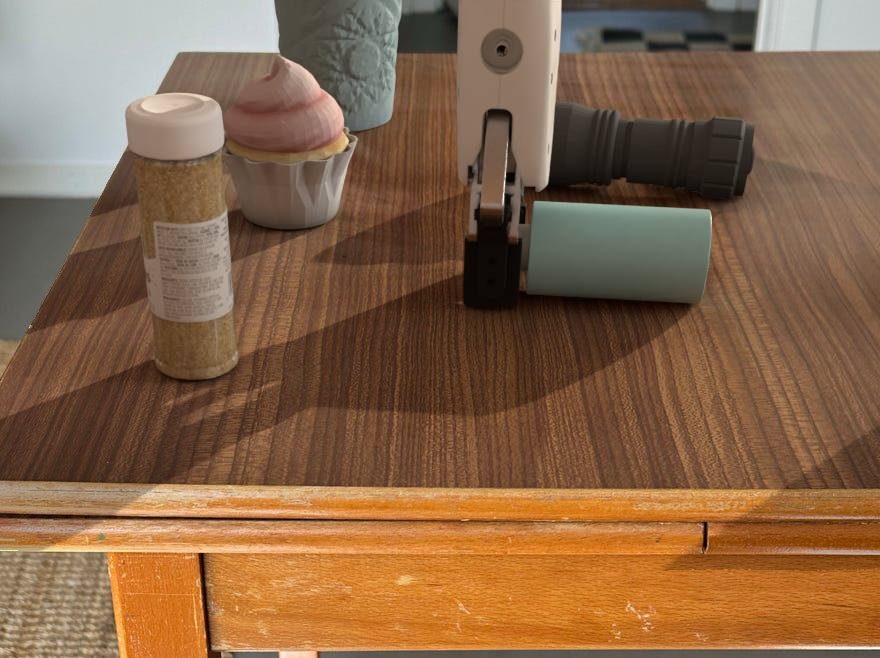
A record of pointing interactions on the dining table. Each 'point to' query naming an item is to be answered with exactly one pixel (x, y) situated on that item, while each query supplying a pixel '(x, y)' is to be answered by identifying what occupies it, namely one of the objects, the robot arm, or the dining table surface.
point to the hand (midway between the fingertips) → (493, 283)
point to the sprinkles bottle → (184, 232)
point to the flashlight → (651, 151)
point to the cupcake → (287, 149)
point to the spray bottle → (616, 251)
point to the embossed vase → (345, 52)
